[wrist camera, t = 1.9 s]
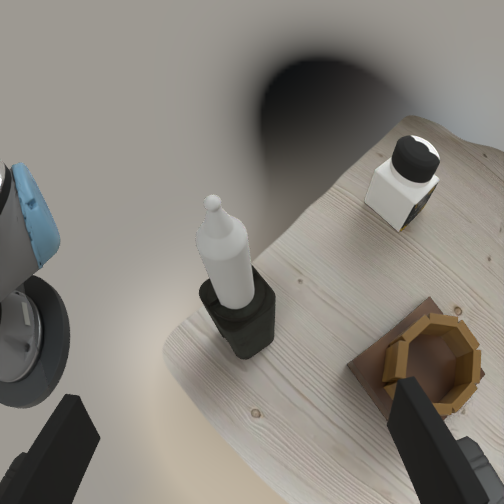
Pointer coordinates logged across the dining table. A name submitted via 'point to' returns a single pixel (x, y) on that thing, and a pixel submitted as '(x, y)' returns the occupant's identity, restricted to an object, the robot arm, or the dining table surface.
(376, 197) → the medicine bottle
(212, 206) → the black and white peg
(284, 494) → the dining table surface
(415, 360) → the stand
